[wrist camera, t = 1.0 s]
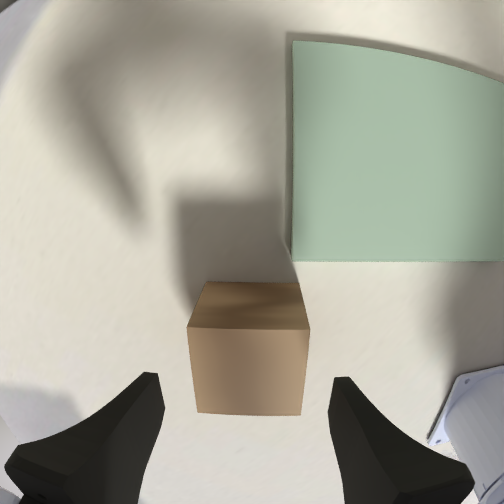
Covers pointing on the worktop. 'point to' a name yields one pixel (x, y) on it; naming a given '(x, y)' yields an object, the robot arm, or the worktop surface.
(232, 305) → the walnut block
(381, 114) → the sage board
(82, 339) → the worktop surface
